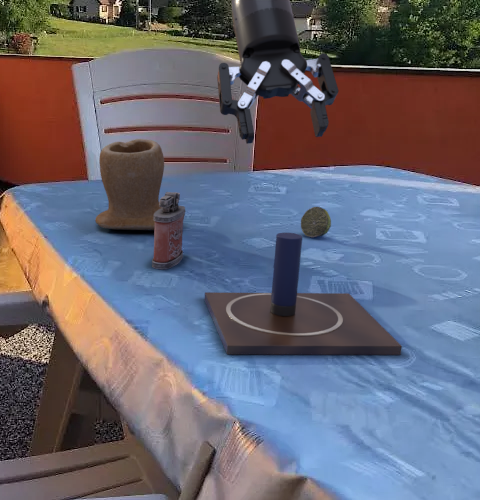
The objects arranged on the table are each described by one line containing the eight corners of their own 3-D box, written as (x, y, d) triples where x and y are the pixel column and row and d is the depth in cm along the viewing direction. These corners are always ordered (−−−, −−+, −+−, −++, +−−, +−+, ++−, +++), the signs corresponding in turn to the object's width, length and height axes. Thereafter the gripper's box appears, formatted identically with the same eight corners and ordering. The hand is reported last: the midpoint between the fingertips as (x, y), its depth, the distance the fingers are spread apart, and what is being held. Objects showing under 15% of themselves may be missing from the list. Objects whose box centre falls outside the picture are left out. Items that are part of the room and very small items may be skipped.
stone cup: (91, 237, 114) (91, 143, 110) (99, 219, 125) (99, 134, 121) (185, 240, 113) (189, 147, 109) (184, 223, 125) (188, 137, 120)
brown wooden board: (348, 300, 88) (349, 292, 88) (400, 355, 73) (402, 344, 72) (204, 299, 87) (204, 291, 87) (226, 354, 72) (227, 344, 71)
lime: (330, 240, 115) (333, 211, 114) (300, 238, 116) (302, 208, 115) (328, 234, 120) (331, 205, 118) (299, 232, 120) (302, 203, 119)
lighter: (165, 252, 106) (168, 187, 104) (187, 255, 105) (190, 189, 102) (147, 267, 99) (149, 197, 96) (169, 270, 98) (172, 199, 95)
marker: (291, 307, 82) (298, 232, 79) (298, 316, 79) (305, 239, 77) (267, 307, 82) (273, 232, 79) (273, 316, 79) (279, 238, 76)
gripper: (211, 11, 87) (230, 127, 82) (325, 0, 87) (352, 115, 82) (206, 47, 94) (223, 157, 89) (312, 37, 94) (336, 146, 89)
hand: (285, 137), depth 85 cm, fingers open, 8 cm apart
